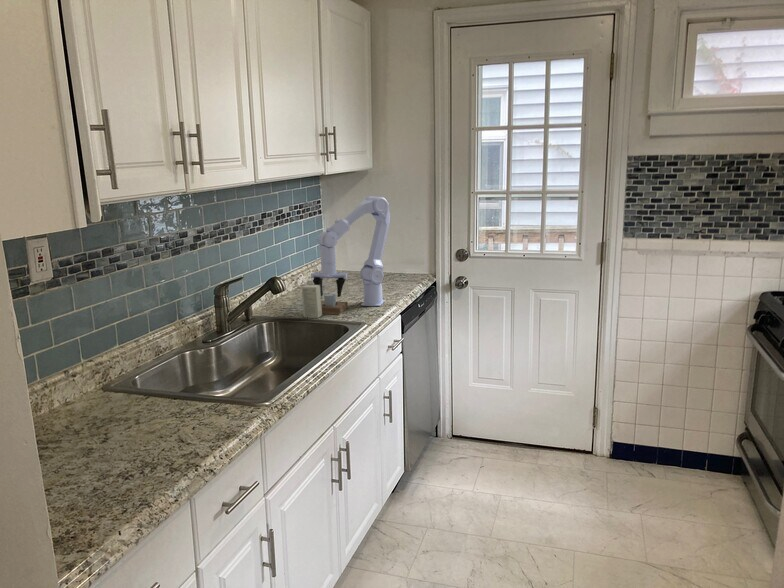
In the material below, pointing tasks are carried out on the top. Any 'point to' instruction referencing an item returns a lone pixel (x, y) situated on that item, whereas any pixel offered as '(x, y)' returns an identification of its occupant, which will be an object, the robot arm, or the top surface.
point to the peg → (330, 299)
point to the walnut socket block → (334, 308)
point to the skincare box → (311, 301)
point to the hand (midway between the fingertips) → (330, 296)
